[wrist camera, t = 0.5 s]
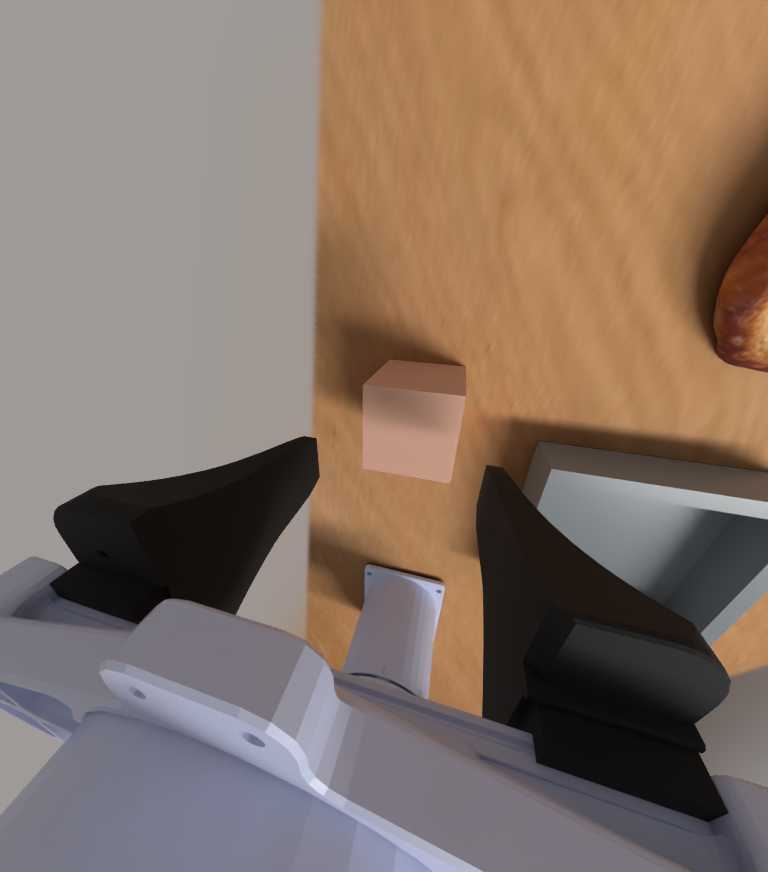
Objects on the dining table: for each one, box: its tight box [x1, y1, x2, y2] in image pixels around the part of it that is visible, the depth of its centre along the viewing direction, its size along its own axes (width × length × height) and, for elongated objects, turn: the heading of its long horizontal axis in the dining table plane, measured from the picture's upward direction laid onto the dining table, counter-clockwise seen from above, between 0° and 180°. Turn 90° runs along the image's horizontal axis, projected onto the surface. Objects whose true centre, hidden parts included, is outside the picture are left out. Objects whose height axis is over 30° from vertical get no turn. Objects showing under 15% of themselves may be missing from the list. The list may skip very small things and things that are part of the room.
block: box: [363, 359, 466, 484], centre depth 17 cm, size 5×5×6 cm
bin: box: [522, 441, 768, 646], centre depth 20 cm, size 13×13×4 cm
